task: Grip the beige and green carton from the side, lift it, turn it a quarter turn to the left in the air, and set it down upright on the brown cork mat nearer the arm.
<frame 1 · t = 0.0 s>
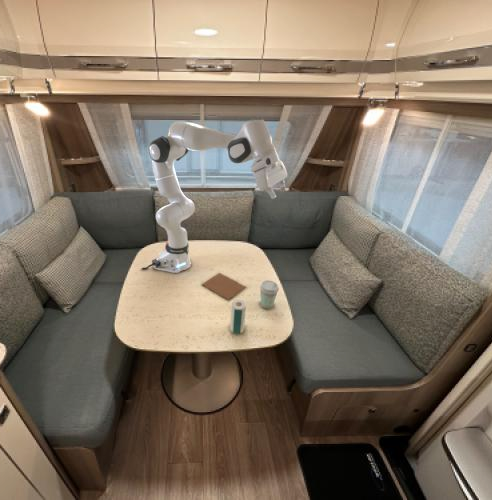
hand: (279, 194, 105), 54 cm above the table, tool tilted 30°, fingers open, 8 cm apart
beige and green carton: (237, 328, 117), on the table
cork mat: (223, 286, 143), on the table
coffee cup: (266, 305, 130), on the table
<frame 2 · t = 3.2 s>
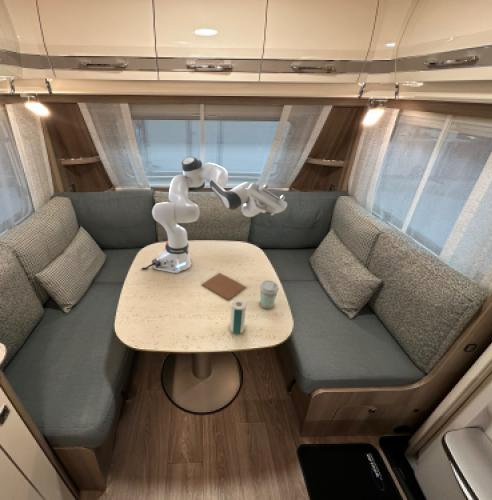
hand: (274, 191, 119), 51 cm above the table, tool pointing upward, fingers open, 8 cm apart
nothing on the table moved.
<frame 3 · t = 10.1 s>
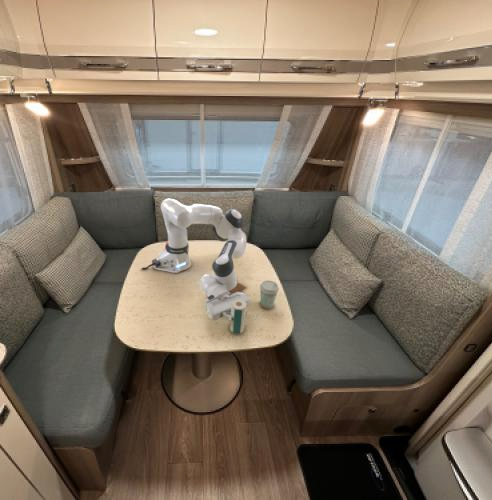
hand: (239, 316, 112), 8 cm above the table, tool horizontal, fingers closed on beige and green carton, 6 cm apart
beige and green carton: (236, 328, 117), on the table, touching gripper
everything else where it was.
when the fingers open (9 cm above the table, at t = 23.8 s): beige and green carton stays where it is, resting on cork mat.
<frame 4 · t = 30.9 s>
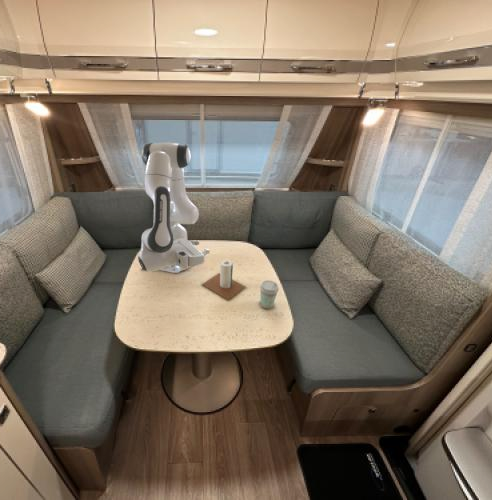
hand: (203, 246, 123), 28 cm above the table, tool horizontal, fingers open, 8 cm apart
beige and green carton: (225, 284, 143), point 1 cm above the table, touching cork mat
everything else where it was.
at the end: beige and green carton inside the target area on the cork mat (1.1 cm from its centre), point 0.6 cm above the cork mat's base; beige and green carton tilted 0°; the gripper is holding nothing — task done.
